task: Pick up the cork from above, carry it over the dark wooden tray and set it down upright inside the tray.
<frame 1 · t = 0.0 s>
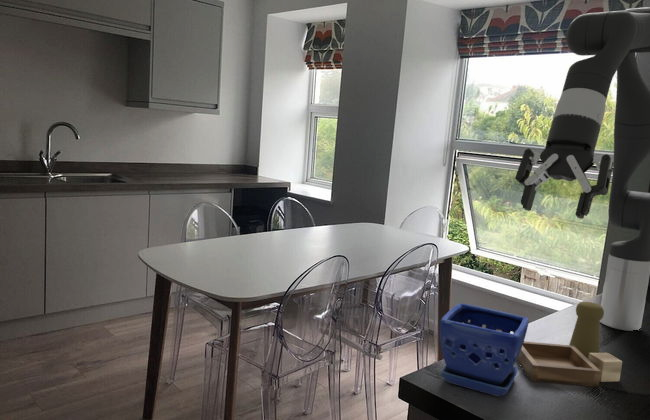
hand: (551, 213, 89), 31 cm above the kitchen counter, tool tilted 20°, fingers open, 8 cm apart
cork: (583, 354, 114), on the kitchen counter
beech block: (602, 377, 103), on the kitchen counter
flower pot: (478, 382, 97), on the kitchen counter
tray: (552, 369, 104), on the kitchen counter
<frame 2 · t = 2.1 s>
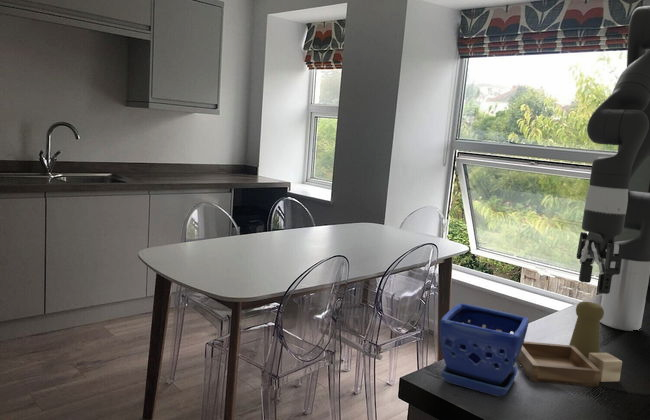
hand: (593, 287, 112), 14 cm above the kitchen counter, tool pointing down, fingers open, 8 cm apart
nothing on the kitchen counter moved.
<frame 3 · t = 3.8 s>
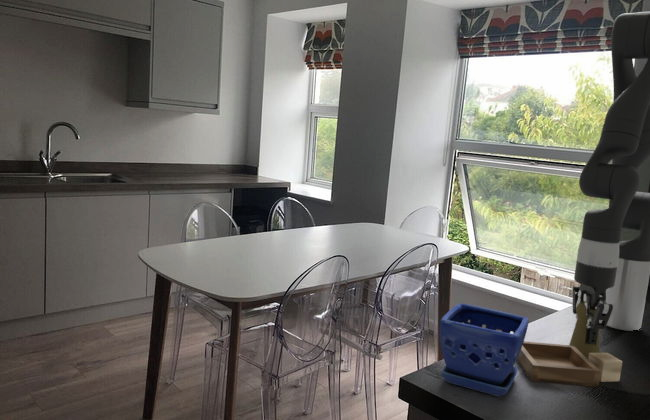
hand: (585, 341, 113), 3 cm above the kitchen counter, tool pointing down, fingers closed on cork, 3 cm apart
cork: (583, 354, 114), on the kitchen counter, touching gripper
everything else where it was.
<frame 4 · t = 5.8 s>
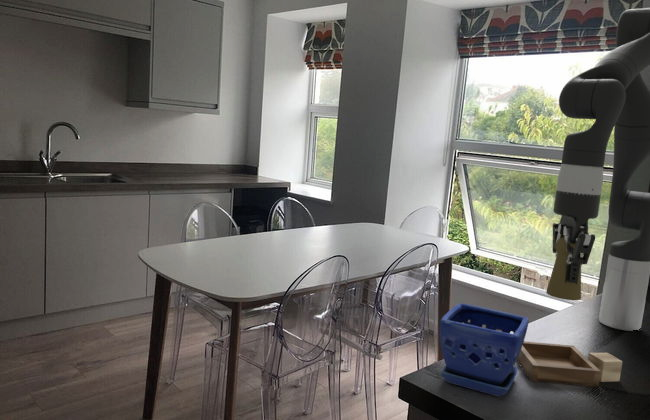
hand: (565, 281, 102), 18 cm above the kitchen counter, tool pointing down, fingers closed on cork, 3 cm apart
cork: (563, 296, 102), point 15 cm above the kitchen counter, touching gripper
everything else where it was.
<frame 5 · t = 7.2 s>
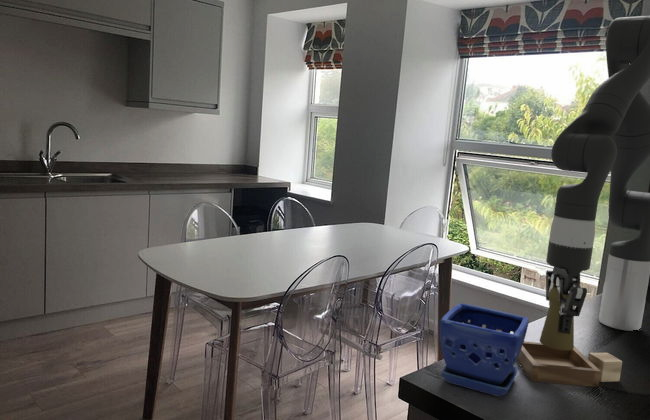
hand: (558, 329, 103), 8 cm above the kitchen counter, tool pointing down, fingers closed on cork, 3 cm apart
cork: (556, 344, 103), point 5 cm above the kitchen counter, touching gripper
everything else where it was.
when the fingers open (5 cm above the kitchen counter, at t = 8.2 s): cork stays where it is, resting on tray.
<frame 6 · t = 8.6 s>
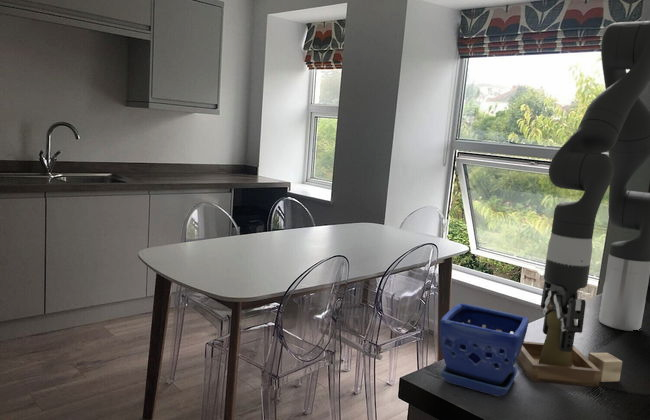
hand: (556, 342, 103), 6 cm above the kitchen counter, tool pointing down, fingers open, 8 cm apart
cork: (554, 369, 103), resting on tray
everything else where it was.
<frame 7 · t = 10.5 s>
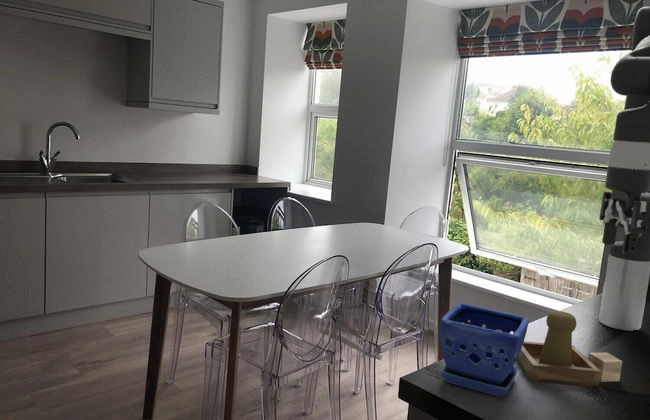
hand: (618, 249, 105), 24 cm above the kitchen counter, tool pointing down, fingers open, 8 cm apart
nothing on the kitchen counter moved.
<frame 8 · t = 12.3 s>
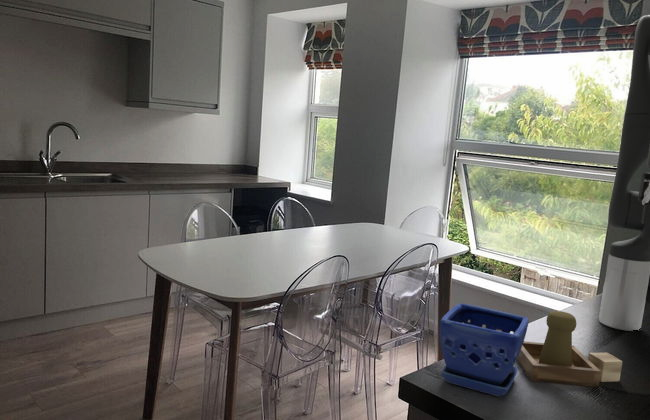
nothing on the kitchen counter moved.
at the end: cork inside the target area on the tray (0.6 cm from its centre), point 0.4 cm above the tray's base; cork tilted 0°; the gripper is holding nothing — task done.
